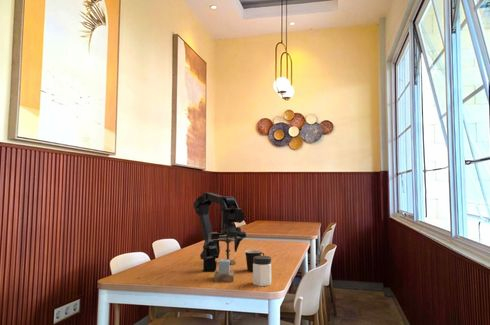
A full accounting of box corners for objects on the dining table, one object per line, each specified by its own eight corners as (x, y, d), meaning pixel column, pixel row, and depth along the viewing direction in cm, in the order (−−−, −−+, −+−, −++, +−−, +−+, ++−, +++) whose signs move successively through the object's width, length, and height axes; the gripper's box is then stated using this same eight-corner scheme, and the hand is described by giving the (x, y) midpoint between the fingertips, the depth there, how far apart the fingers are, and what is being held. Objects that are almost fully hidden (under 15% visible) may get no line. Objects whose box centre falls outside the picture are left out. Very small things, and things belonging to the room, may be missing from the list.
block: (218, 274, 169) (218, 261, 170) (219, 271, 174) (219, 259, 175) (229, 274, 169) (229, 261, 170) (229, 271, 174) (229, 259, 175)
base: (214, 281, 167) (214, 275, 167) (215, 277, 176) (215, 270, 176) (233, 281, 167) (233, 275, 167) (233, 277, 176) (233, 270, 176)
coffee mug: (247, 272, 185) (247, 253, 185) (243, 269, 193) (243, 250, 194) (269, 271, 188) (268, 252, 189) (263, 268, 196) (263, 249, 197)
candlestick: (239, 264, 205) (239, 203, 207) (221, 265, 202) (221, 203, 204) (234, 261, 215) (234, 202, 218) (216, 262, 212) (216, 203, 214)
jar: (275, 283, 163) (275, 257, 164) (264, 287, 157) (263, 259, 158) (260, 280, 170) (260, 254, 170) (249, 283, 164) (249, 257, 164)
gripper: (215, 223, 169) (214, 256, 168) (250, 222, 176) (250, 254, 175) (207, 221, 179) (207, 252, 178) (241, 219, 186) (241, 250, 185)
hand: (227, 252), depth 179 cm, fingers open, 9 cm apart
